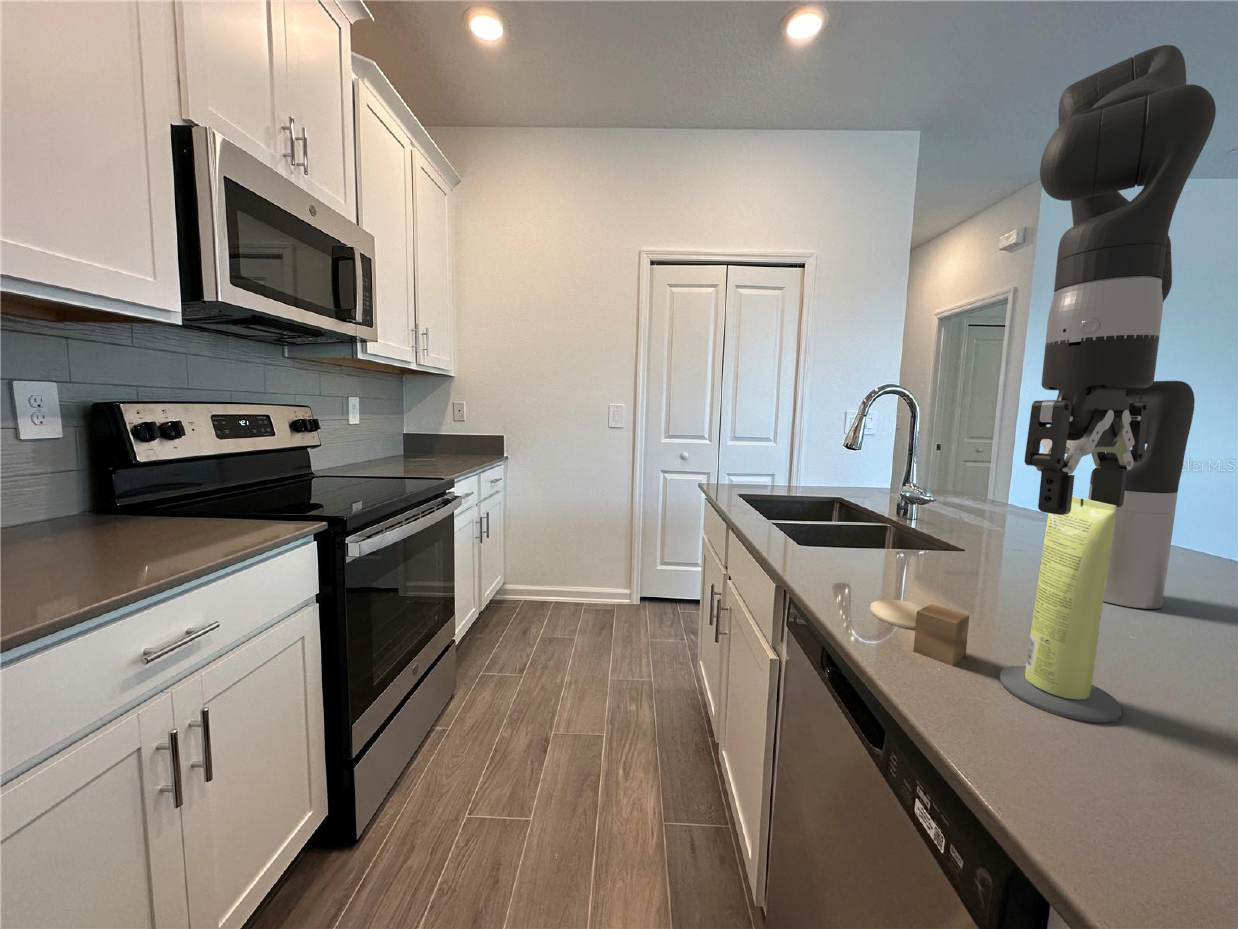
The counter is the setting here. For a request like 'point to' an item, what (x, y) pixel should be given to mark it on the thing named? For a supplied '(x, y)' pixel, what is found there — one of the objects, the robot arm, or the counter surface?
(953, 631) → the walnut block
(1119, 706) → the pad
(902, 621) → the pad
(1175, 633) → the counter surface
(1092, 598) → the tube
